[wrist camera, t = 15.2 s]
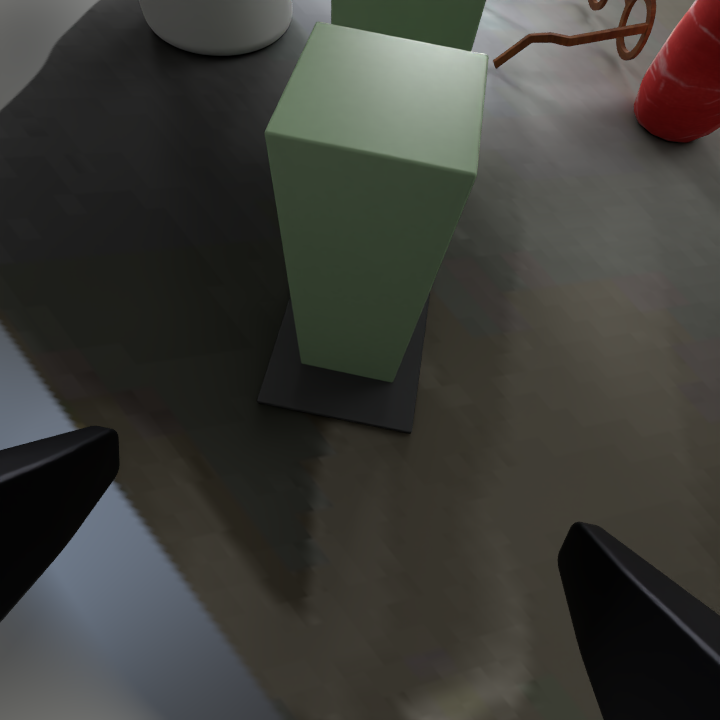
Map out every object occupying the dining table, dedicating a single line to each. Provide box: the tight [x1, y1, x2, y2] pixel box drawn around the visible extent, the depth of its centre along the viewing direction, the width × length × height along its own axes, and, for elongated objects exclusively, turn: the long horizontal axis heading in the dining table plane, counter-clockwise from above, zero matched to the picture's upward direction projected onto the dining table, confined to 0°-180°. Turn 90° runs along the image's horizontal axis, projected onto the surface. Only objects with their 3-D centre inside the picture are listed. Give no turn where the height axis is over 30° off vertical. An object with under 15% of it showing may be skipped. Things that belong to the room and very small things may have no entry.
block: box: [265, 22, 488, 382], centre depth 16 cm, size 5×5×13 cm
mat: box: [257, 292, 430, 434], centre depth 25 cm, size 26×8×1 cm, turn 169°
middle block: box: [331, 0, 486, 52], centre depth 19 cm, size 5×5×13 cm
